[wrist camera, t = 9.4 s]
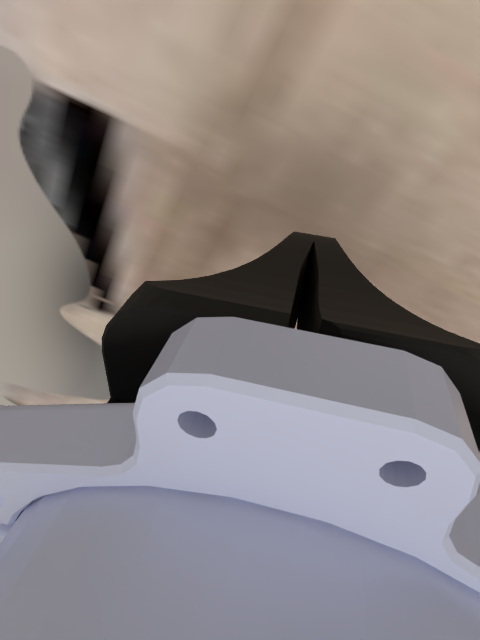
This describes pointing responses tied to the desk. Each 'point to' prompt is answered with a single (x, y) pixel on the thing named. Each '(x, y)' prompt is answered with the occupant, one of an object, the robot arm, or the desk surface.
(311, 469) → the robot arm
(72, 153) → the desk surface
